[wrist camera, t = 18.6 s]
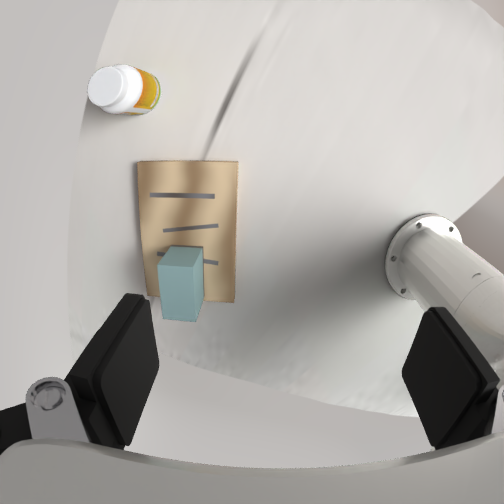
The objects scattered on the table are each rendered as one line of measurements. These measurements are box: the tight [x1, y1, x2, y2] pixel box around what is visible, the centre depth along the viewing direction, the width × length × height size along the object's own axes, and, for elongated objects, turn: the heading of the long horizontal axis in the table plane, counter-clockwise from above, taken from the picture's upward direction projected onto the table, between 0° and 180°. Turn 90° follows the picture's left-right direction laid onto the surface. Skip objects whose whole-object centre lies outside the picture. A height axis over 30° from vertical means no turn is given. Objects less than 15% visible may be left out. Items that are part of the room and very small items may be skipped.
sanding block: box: [157, 245, 205, 322], centre depth 36 cm, size 7×4×6 cm, turn 178°
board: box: [137, 161, 238, 303], centre depth 38 cm, size 12×18×1 cm, turn 177°
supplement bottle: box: [87, 64, 162, 115], centre depth 27 cm, size 5×5×10 cm
